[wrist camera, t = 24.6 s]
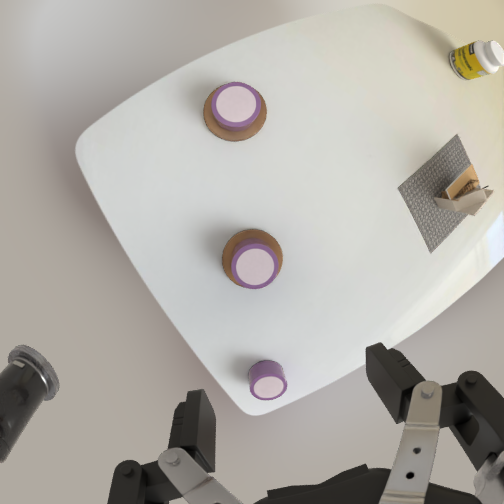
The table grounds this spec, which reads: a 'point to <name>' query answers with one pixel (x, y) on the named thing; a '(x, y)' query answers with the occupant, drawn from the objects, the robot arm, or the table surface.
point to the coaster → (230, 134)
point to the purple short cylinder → (235, 106)
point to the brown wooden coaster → (243, 236)
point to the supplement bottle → (477, 59)
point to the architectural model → (444, 193)
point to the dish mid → (254, 263)
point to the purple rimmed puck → (267, 380)
